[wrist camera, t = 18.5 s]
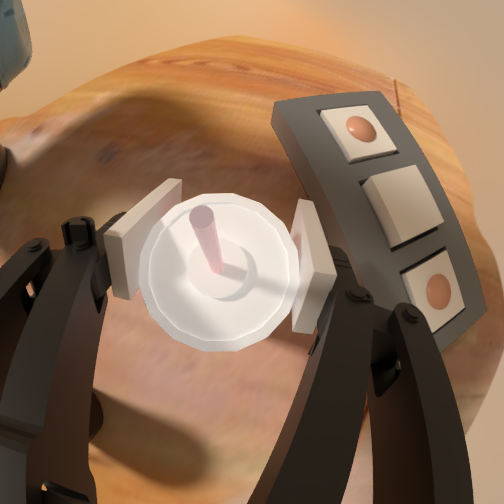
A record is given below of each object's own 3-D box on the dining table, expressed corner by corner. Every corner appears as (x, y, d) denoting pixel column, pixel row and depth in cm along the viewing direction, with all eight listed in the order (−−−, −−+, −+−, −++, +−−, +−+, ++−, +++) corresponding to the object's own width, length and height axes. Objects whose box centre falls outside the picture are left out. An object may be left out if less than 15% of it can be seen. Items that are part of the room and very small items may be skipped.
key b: (357, 190, 23) (370, 176, 20) (401, 177, 24) (415, 164, 21) (385, 250, 22) (402, 242, 19) (427, 230, 23) (444, 221, 20)
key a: (314, 127, 26) (322, 109, 23) (358, 120, 27) (368, 104, 24) (341, 173, 25) (352, 157, 22) (385, 162, 25) (397, 148, 23)
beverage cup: (287, 303, 19) (409, 255, 5) (215, 354, 17) (163, 440, 4) (236, 233, 20) (242, 72, 6) (165, 281, 18) (38, 194, 5)
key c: (389, 278, 23) (406, 273, 20) (429, 256, 23) (447, 249, 20) (408, 336, 21) (427, 337, 18) (447, 309, 22) (466, 307, 19)
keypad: (270, 123, 27) (274, 102, 23) (369, 108, 29) (379, 90, 25) (377, 376, 21) (396, 384, 18) (466, 312, 23) (486, 310, 20)
